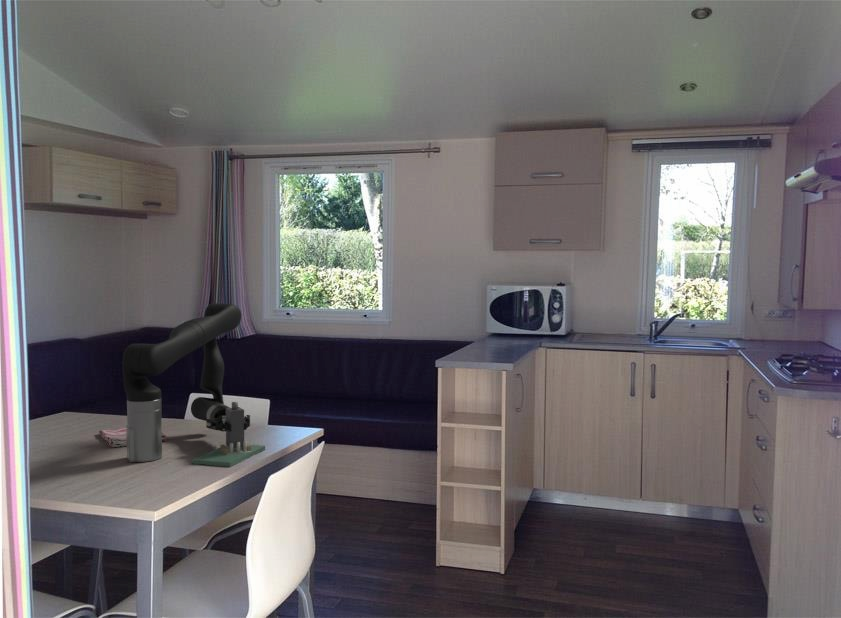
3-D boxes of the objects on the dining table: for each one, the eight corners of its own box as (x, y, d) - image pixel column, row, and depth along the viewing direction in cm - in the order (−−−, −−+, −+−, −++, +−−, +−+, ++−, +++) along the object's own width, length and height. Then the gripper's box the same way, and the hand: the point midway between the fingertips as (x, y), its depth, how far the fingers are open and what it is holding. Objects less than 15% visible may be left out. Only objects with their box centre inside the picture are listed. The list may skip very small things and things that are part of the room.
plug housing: (230, 448, 203) (230, 404, 202) (226, 444, 207) (225, 401, 206) (244, 446, 205) (244, 403, 204) (239, 443, 209) (238, 400, 208)
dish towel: (110, 450, 213) (110, 439, 212) (97, 435, 232) (97, 425, 232) (168, 443, 222) (167, 432, 222) (151, 429, 241) (151, 419, 241)
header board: (230, 466, 192) (230, 451, 192) (192, 463, 195) (192, 448, 195) (265, 449, 211) (265, 436, 211) (230, 447, 214) (229, 433, 214)
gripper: (198, 407, 214) (213, 417, 199) (243, 403, 221) (261, 412, 207) (198, 431, 214) (213, 443, 200) (243, 426, 222) (261, 437, 207)
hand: (237, 427), depth 203 cm, fingers closed on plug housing, 4 cm apart
